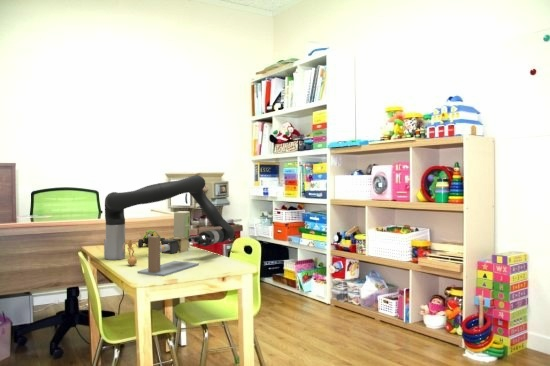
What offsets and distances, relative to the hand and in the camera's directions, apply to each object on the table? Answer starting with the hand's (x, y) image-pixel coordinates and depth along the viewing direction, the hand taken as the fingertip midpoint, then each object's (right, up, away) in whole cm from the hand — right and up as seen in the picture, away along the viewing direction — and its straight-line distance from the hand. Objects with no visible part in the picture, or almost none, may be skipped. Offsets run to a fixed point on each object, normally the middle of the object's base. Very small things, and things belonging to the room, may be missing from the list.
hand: (190, 241), depth 223 cm
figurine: (-26, -10, -7) cm, 29 cm away
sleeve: (-4, -3, -9) cm, 10 cm away
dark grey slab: (-7, -3, -15) cm, 17 cm away
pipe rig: (-6, -10, -14) cm, 19 cm away
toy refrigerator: (-12, -9, +41) cm, 44 cm away
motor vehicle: (-32, -9, +51) cm, 61 cm away
